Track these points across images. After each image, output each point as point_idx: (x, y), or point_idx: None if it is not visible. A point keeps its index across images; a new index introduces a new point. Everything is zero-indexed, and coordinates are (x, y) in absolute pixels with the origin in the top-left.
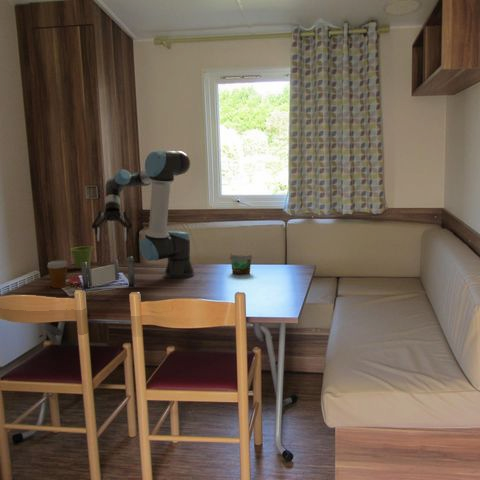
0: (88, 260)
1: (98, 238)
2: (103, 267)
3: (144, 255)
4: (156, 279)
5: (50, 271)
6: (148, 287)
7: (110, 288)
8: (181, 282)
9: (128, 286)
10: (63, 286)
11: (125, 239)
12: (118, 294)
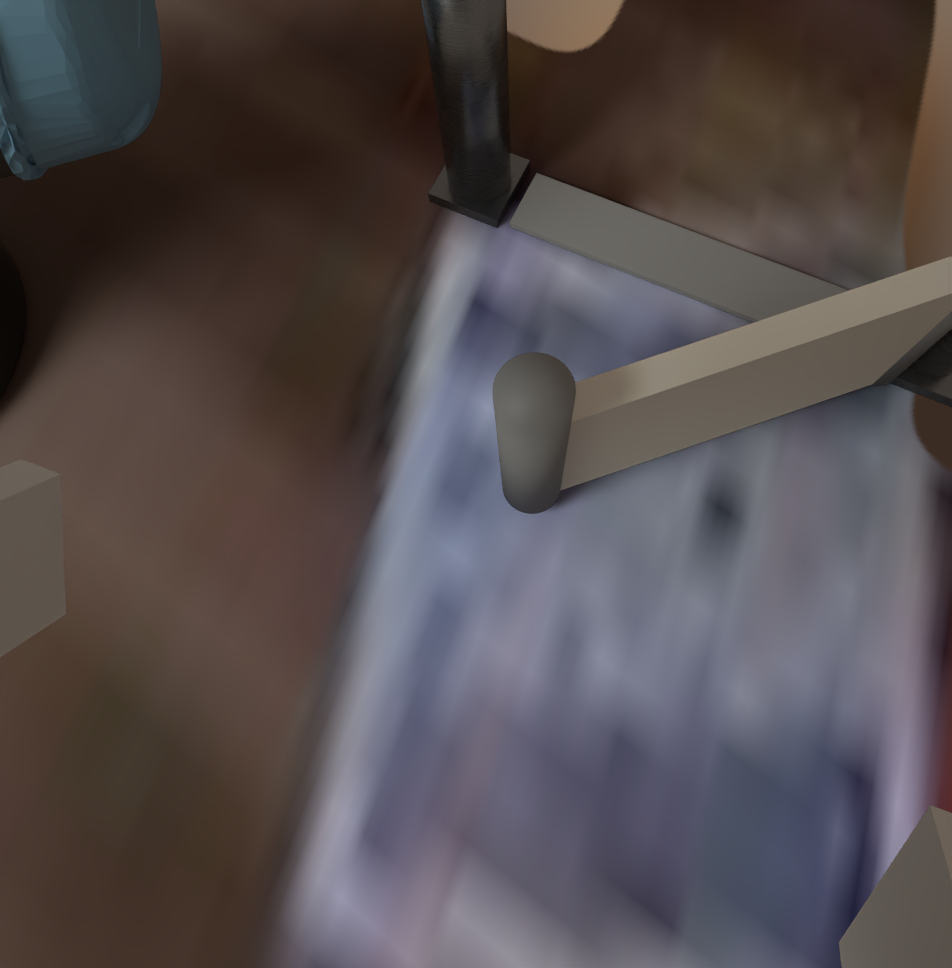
0: None
1: (934, 824)
2: (752, 325)
3: (150, 47)
4: (145, 323)
5: None
6: (356, 100)
7: (685, 230)
8: None
9: (516, 171)
10: None
11: (47, 540)
12: (673, 32)
